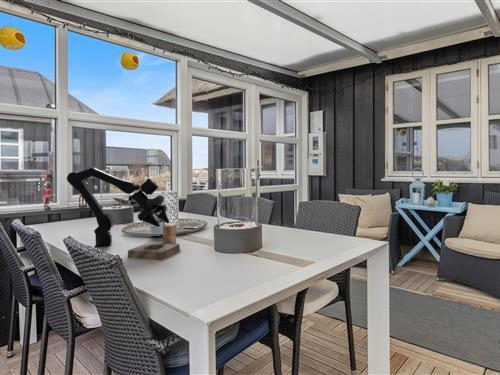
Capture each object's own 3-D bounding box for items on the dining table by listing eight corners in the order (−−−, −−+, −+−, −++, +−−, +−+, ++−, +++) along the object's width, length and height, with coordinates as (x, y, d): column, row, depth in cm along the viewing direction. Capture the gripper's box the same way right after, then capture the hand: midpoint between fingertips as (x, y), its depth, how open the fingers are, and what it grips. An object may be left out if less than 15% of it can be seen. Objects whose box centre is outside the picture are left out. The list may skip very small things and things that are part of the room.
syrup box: (156, 237, 185) (156, 210, 184) (150, 235, 189) (149, 209, 188) (165, 235, 190) (164, 209, 189) (158, 234, 193) (157, 208, 192)
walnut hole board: (128, 257, 146) (127, 250, 146) (148, 248, 161) (148, 241, 161) (161, 259, 142) (161, 252, 141) (179, 250, 157) (179, 243, 157)
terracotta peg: (163, 246, 164) (162, 226, 164) (167, 244, 169) (167, 224, 168) (171, 247, 163) (171, 226, 162) (176, 244, 168) (175, 224, 167)
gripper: (142, 191, 158) (164, 216, 155) (163, 188, 175) (183, 210, 173) (128, 208, 160) (149, 232, 158) (150, 203, 178) (169, 225, 176)
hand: (164, 224), depth 166 cm, fingers open, 9 cm apart
